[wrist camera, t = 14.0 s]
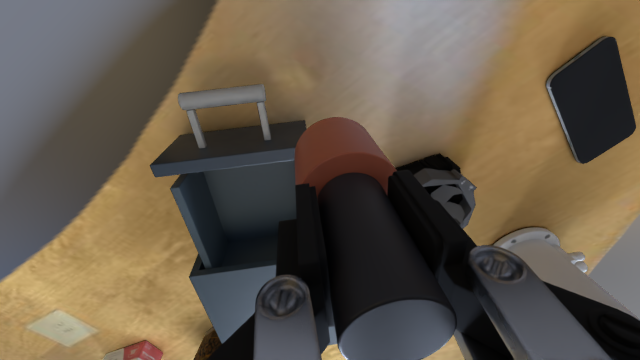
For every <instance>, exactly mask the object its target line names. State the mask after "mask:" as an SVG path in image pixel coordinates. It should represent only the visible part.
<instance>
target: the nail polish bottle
mask: <svg viewBox="0 0 640 360" xmlns="http://www.w3.org/2000/svg"><path fill="white" fill-rule="evenodd" d="M294 158H295V184H296V185H299V184H307V183H309V185H310V187H312V186H315V188H316V194H317V200H318V206H319V212H320V218H321V224H322V230H323V236H324V243H325V249H326V255H327V262H328V269H329V278H330V286H331V290H330V299H331V305H332V312H333V318H334V325H335V332H336V338H337V344H338V348H339V350H340V352H341V354H342V355H343V356H344V357H345V358H346V359H347V360H421V359H423V358H425V357H427V356H429V355H431V354H433V353H434V352H436V351H437V350H439V349H440V348H441V347H442V346H444V345H445V344H446V343H447V342H448V341H449V339H450V338H451V337H452V335H453V334H454V332H455V329H456V326H457V316H456V313H455V310H454V309H453V307H452V305H451V303H450V302H449V300H448V298H447V297H446V295H445V293H444V291H443V290H442V288H441V286H440V285H439V283H438V281H437V279H436V278H435V276H434V274H433V273H432V271H431V269H430V268H429V266H428V264H427V262H426V261H425V259H424V257H423V256H422V254H421V252H420V250H419V249H418V247H417V245H416V244H415V242H414V240H413V239H412V237H411V235H410V233H409V232H408V230H407V228H406V227H405V225H404V223H403V221H402V220H401V218H400V216H399V215H398V213H397V211H396V210H395V208H394V206H393V204H392V203H391V201H390V199H389V198H388V196H387V191H388V177H389V176H392V174H393V172H395V171H397V170H396V169H395V168H394V166H393V165H392V164H391V162H390V161H389V160H388V159H387V157H386V156H385V155H384V153H383V152H382V151H381V149H380V148H379V147H378V145H377V144H376V143H375V141H374V140H373V139H372V137H371V136H370V135H369V133H368V132H367V131H366V129H365V128H364V127H363V126H361V125H360V124H359V123H357V122H355V121H353V120H350V119H347V118H342V117H332V118H326V119H323V120H320V121H318V122H316V123H314V124H313V125H311V126H310V127H309V128H308V129H306V131H305V132H304V133H303V134H302V135H301V137H300V138H299V140H298V142H297V145H296V148H295V156H294Z"/></svg>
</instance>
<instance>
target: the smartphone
mask: <svg viewBox="0 0 640 360" xmlns="http://www.w3.org/2000/svg"><path fill="white" fill-rule="evenodd" d="M546 86H547V89H548V92H549V94H550V97H551V99H552V102H553V104H554V107H555V109H556V112H557V114H558V117H559V119H560V122H561V124H562V127H563V129H564V132H565V134H566V137H567V139H568V142H569V144H570V147H571V149H572V152H573V154H574V157H575V159H576V161H577V162H579V163H582V164H584V163H588V162H589V161H591V160H593V159H594V158H596V157H597V156H599V155H601V154H602V153H604V152H605V151H607V150H608V149H610V148H612V147H613V146H615V145H616V144H618V143H620V142H621V141H623V140H624V139H626V138H628V137H629V136H630V135H632V134H633V132H634V131H635V129H636V124H635V119H634V115H633V111H632V107H631V102H630V98H629V94H628V89H627V85H626V81H625V77H624V72H623V68H622V64H621V59H620V55H619V51H618V46H617V42H616V39H615V38H614V37H603V38H601V39H599V40H598V41H596V42H595V43H594V44H592V45H591V46H590V47H588V48H587V49H586V50H584V51H583V52H581V53H580V54H579V55H577V56H576V57H575V58H573V59H572V60H571V61H569V62H568V63H567V64H565V65H564V66H563V67H561V68H560V69H559V70H557V71H556V72H555V73H553V74H552V75H551V76H550V77H549V79H548V81H547V84H546Z"/></svg>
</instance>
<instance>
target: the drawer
mask: <svg viewBox="0 0 640 360" xmlns="http://www.w3.org/2000/svg"><path fill="white" fill-rule="evenodd" d="M264 101H266V93H265V88H264V85H263V84H258V85H249V86H240V87H231V88H222V89H213V90H205V91H196V92H187V93H180V94H179V95H178V102H179V105H180V107H181V108H182V110H187V111H186V112H187V115H188V118H189V120H190V123H191V126H192V129H193V132H194V134H185V135H180V136H179V137H178V138H177V139H176V140H175V141H174V142H173V143H172V144H171V145H170V146H169V147H168V148H167V149H166V150H165V151H164V152H163V153H162V154H161V155H160V156H159V157H158V158H157V159H156V160H155V161H154V162H153V163H152V164H151V165H150V167H151V170H152V172H153V174H154V176H155V177H162V176H170V175H178V174H181V175H180V176H179V177H178V179H177V180H176V181H175V183H174V184H173V185H172V187H171V188H170V189H171V192H172V194H173V196H174V198H175V201H176V203H177V205H178V207H179V210H180V212H181V214H182V217H183V219H184V221H185V223H186V226H187V228H188V230H189V233H190V235H191V237H192V239H193V242H194V244H195V246H196V248H197V251H198V253H199V255H200V258H201V260H202V262H203V264H204V267H205V269H211V268H218V267H225V266H232V265H239V264H246V263H254V262H261V261H268V260H275V259H277V243H278V225H279V221H284V220H291V219H297V218H296V192H295V185H296V184H295V158H294V156H295V148H296V145H297V142H298V140H299V138H300V137H301V135H302V134H303V133H304V132H305V131H306V124H305V121H304V120H303V121H294V122H286V123H278V124H269V123H268V118H267V113H266V108H265V102H264ZM253 102H257V106H258V111H259V116H260V121H261V126H252V127H244V128H236V129H227V130H219V131H210V132H202V129H201V126H200V123H199V120H198V116H197V113H196V110H195V109H201V108H210V107H219V106H227V105H236V104H245V103H253Z"/></svg>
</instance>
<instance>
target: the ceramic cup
mask: <svg viewBox="0 0 640 360" xmlns="http://www.w3.org/2000/svg"><path fill="white" fill-rule="evenodd" d="M221 345H222V343H221V341H220V339H219V337H218V335H217V333H216V331H215V329H214V327H213V328H211V329H210V330H209V331H207V332H206V334H205V336H204V338H203V340H202V342H201V345H200V347H199V349H198V351H197V353H196V355H195V358H194V360H206V359H207V358H208V357H209V356H210V355H211V354H213V353H214V352H215V351H216V350H217V349H218V348H219V347H220V346H221Z"/></svg>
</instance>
